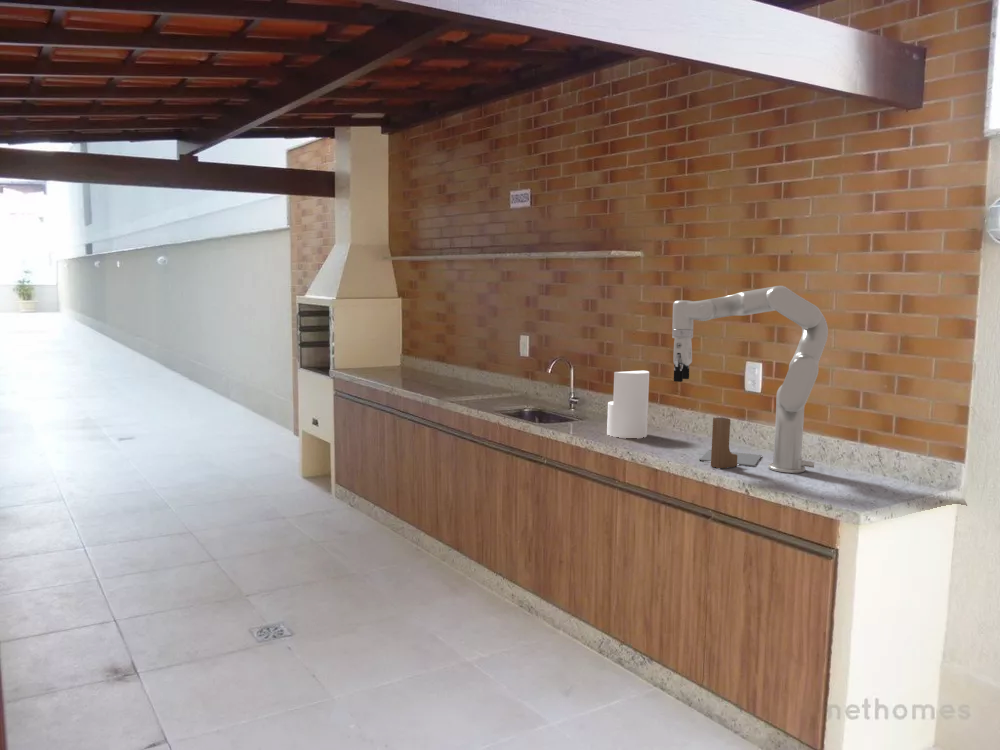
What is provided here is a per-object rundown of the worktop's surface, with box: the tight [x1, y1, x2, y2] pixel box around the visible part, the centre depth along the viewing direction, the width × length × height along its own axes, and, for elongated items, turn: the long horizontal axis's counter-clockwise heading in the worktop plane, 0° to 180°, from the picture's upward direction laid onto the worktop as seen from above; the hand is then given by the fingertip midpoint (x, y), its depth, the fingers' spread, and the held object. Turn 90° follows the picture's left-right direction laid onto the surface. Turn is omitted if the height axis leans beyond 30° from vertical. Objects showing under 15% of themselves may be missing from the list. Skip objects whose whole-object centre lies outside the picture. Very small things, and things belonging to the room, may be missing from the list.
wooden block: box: [710, 416, 738, 469], centre depth 297 cm, size 9×4×18 cm, turn 120°
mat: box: [698, 449, 763, 468], centre depth 312 cm, size 20×20×1 cm
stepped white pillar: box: [606, 370, 650, 439], centre depth 356 cm, size 17×17×28 cm
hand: (681, 380), depth 304 cm, fingers open, 9 cm apart
